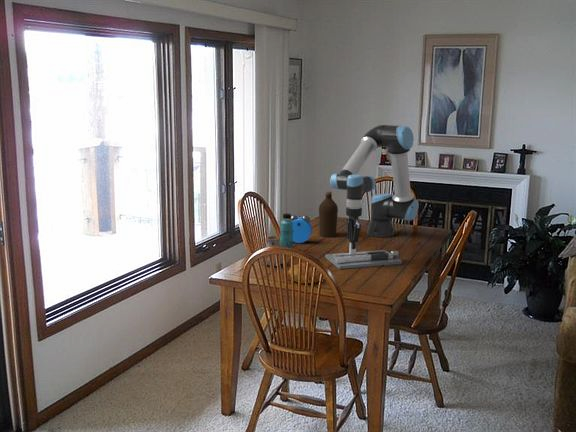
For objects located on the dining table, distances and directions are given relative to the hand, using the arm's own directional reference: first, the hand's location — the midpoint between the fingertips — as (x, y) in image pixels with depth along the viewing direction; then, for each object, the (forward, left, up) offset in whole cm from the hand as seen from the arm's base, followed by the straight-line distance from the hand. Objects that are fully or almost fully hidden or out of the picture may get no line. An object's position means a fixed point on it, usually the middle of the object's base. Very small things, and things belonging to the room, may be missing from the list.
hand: (352, 254), depth 297 cm
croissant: (+30, +21, -4) cm, 37 cm away
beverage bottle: (+27, -23, -3) cm, 36 cm away
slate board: (-5, +1, -3) cm, 6 cm away
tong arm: (-4, +2, -1) cm, 4 cm away
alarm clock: (+15, -40, -3) cm, 43 cm away
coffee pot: (+40, 0, -3) cm, 40 cm away
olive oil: (-5, -50, -3) cm, 51 cm away
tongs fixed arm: (-6, +5, -1) cm, 8 cm away
